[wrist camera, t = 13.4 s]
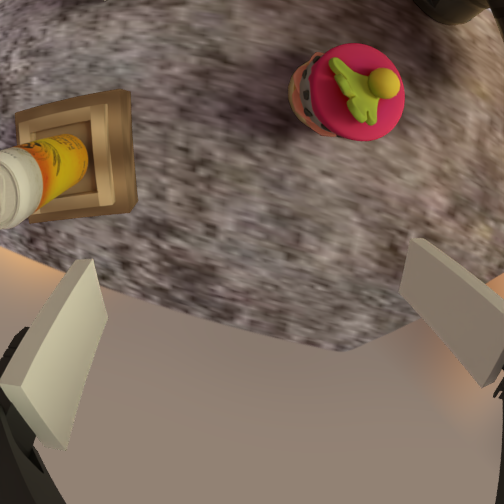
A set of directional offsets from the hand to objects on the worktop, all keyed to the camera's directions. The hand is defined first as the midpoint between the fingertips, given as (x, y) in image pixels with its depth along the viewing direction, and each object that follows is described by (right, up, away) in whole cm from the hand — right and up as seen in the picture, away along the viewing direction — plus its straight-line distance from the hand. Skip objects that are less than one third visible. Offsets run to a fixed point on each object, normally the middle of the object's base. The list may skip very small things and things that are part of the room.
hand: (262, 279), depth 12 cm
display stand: (-22, +13, +22) cm, 34 cm away
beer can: (-21, +11, +18) cm, 30 cm away
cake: (+9, +21, +24) cm, 33 cm away
